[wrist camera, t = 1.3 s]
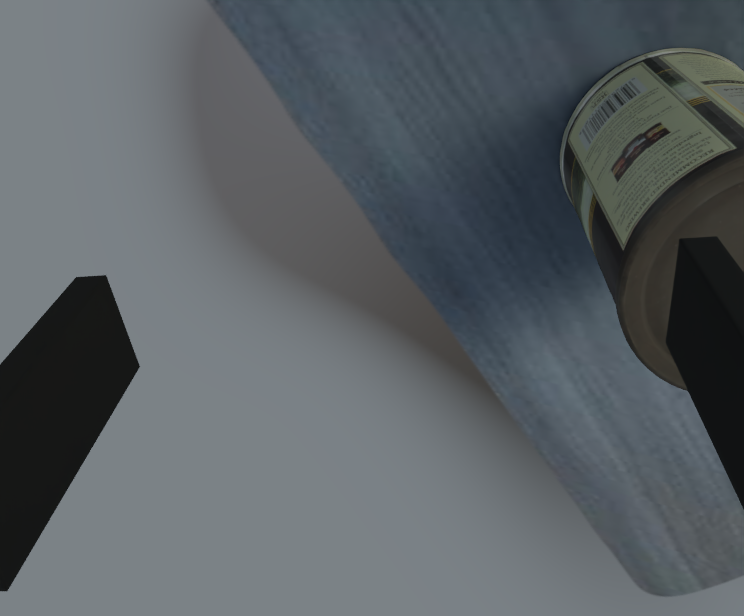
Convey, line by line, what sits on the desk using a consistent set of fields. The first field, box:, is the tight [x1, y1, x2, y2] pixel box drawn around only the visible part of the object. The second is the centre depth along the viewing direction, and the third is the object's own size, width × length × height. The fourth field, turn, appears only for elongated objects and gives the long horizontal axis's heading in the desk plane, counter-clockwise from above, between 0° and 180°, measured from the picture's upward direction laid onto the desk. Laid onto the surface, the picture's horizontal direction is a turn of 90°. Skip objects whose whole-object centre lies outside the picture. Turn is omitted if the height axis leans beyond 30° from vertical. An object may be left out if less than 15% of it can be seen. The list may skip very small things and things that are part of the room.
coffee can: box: [560, 48, 744, 391], centre depth 30 cm, size 10×10×14 cm
